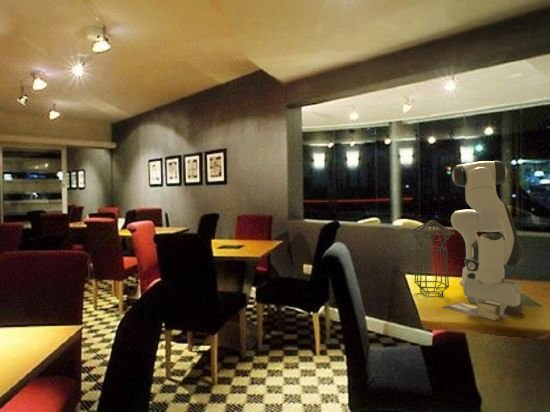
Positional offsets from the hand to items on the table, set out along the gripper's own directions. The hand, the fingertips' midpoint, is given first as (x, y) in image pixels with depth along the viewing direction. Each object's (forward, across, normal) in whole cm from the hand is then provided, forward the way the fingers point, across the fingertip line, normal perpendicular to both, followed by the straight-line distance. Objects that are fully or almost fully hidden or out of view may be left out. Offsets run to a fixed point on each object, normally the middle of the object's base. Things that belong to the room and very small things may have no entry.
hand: (490, 312), depth 156 cm
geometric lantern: (+3, +35, -14) cm, 38 cm away
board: (+3, +7, -2) cm, 8 cm away
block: (+2, 0, 0) cm, 2 cm away
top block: (+3, +14, -15) cm, 21 cm away
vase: (+3, -2, -13) cm, 13 cm away
